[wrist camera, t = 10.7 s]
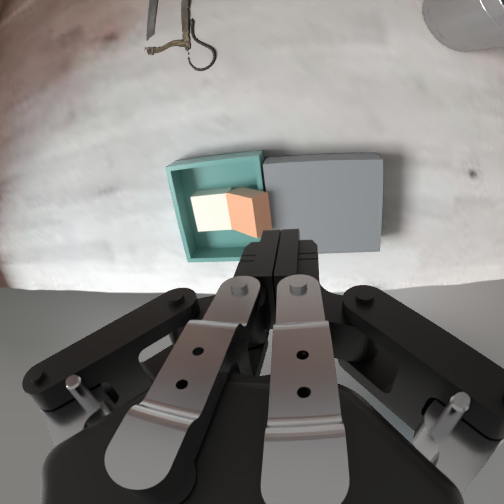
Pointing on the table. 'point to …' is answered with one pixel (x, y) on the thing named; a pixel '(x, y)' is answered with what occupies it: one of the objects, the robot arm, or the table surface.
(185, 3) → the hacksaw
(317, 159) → the grey flat block
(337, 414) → the robot arm
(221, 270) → the table surface
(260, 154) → the box
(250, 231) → the terracotta tile
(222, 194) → the cream tile
